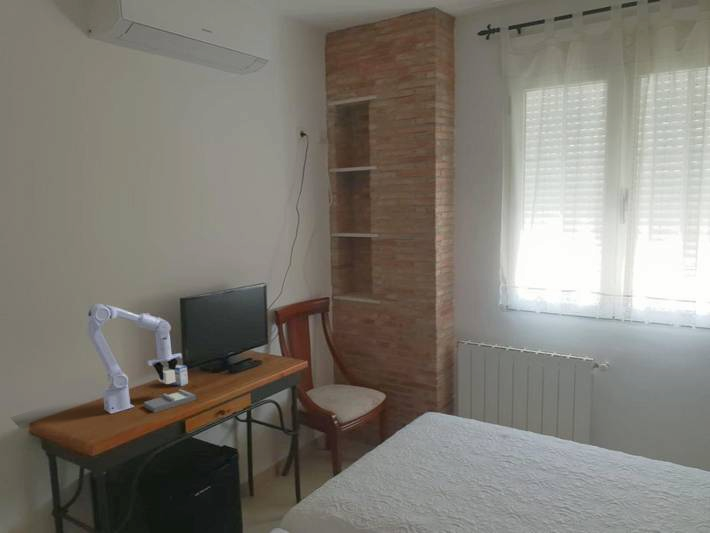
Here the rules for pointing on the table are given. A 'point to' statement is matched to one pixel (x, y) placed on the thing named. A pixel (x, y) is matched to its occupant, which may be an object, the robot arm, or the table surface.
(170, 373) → the cream white block
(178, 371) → the medicine box
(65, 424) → the table surface
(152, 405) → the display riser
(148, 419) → the table surface
